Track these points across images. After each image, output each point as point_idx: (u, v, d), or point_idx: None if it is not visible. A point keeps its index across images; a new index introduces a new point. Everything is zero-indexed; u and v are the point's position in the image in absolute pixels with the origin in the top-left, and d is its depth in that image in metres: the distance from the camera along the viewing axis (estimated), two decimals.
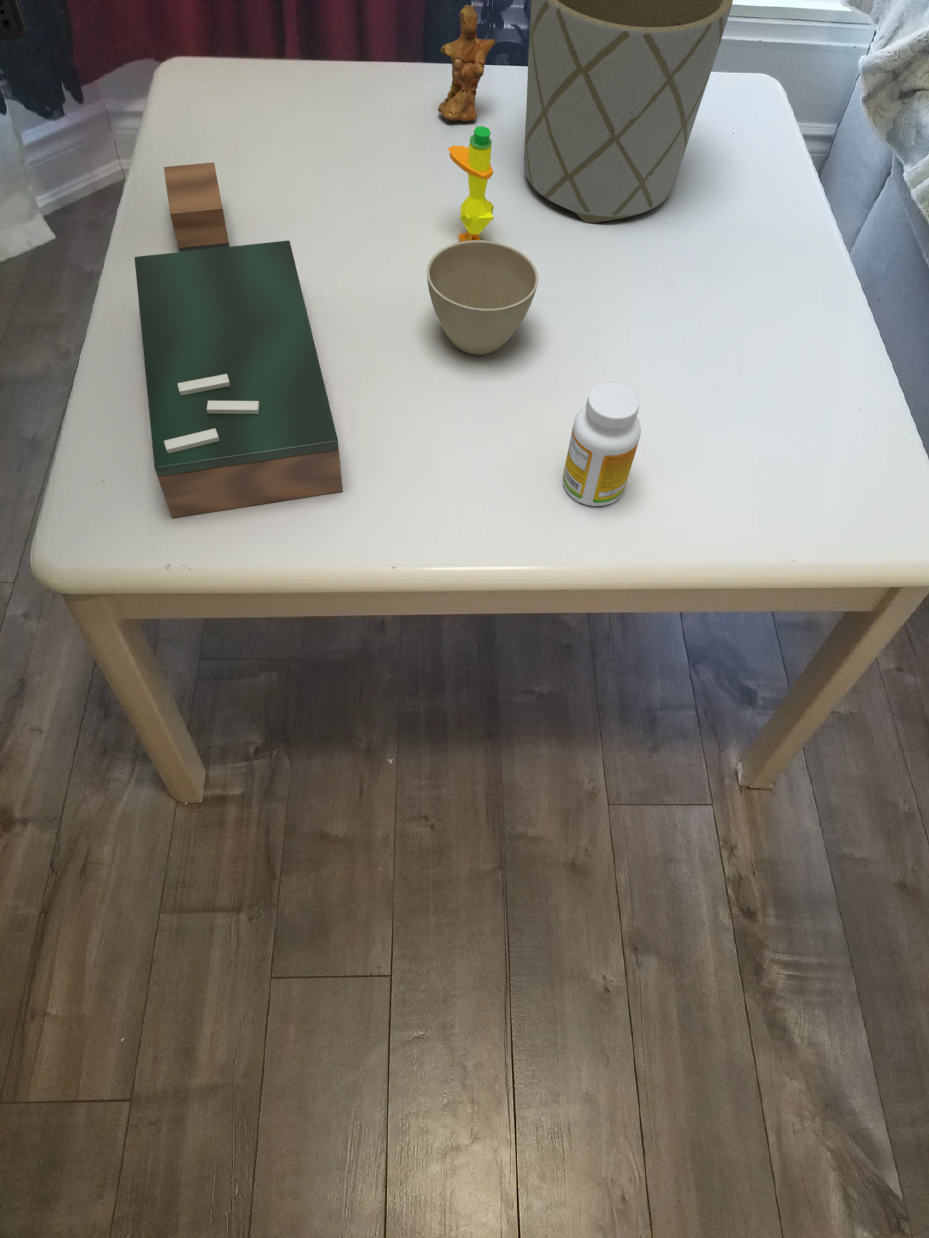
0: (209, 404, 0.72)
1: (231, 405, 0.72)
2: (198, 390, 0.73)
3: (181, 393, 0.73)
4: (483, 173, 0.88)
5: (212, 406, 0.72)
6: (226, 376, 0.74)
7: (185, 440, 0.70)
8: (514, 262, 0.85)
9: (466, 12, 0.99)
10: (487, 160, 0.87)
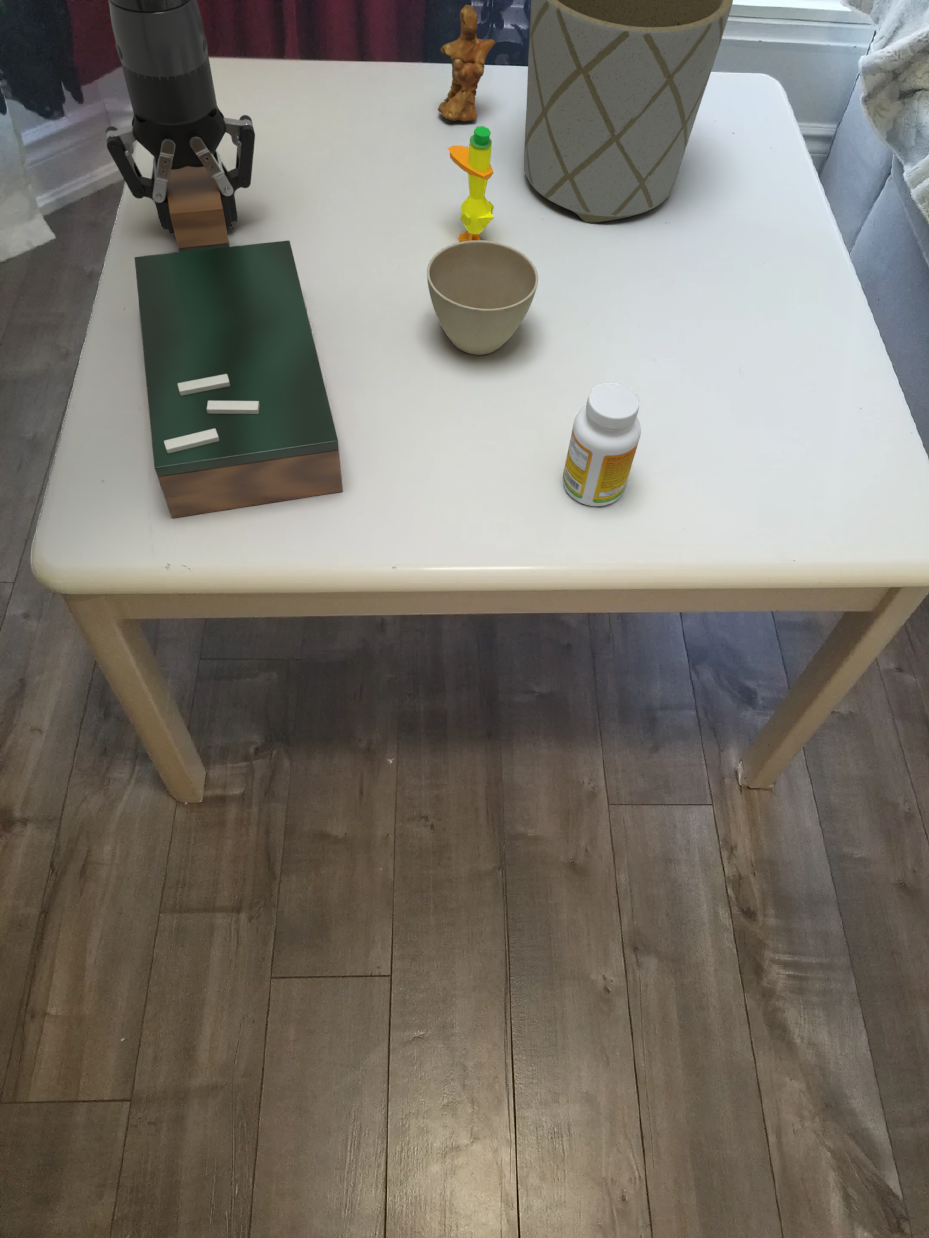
0: (209, 404, 0.72)
1: (231, 405, 0.72)
2: (198, 390, 0.73)
3: (181, 393, 0.73)
4: (483, 173, 0.88)
5: (212, 406, 0.72)
6: (226, 376, 0.74)
7: (185, 440, 0.70)
8: (514, 262, 0.85)
9: (466, 12, 0.99)
10: (487, 160, 0.87)
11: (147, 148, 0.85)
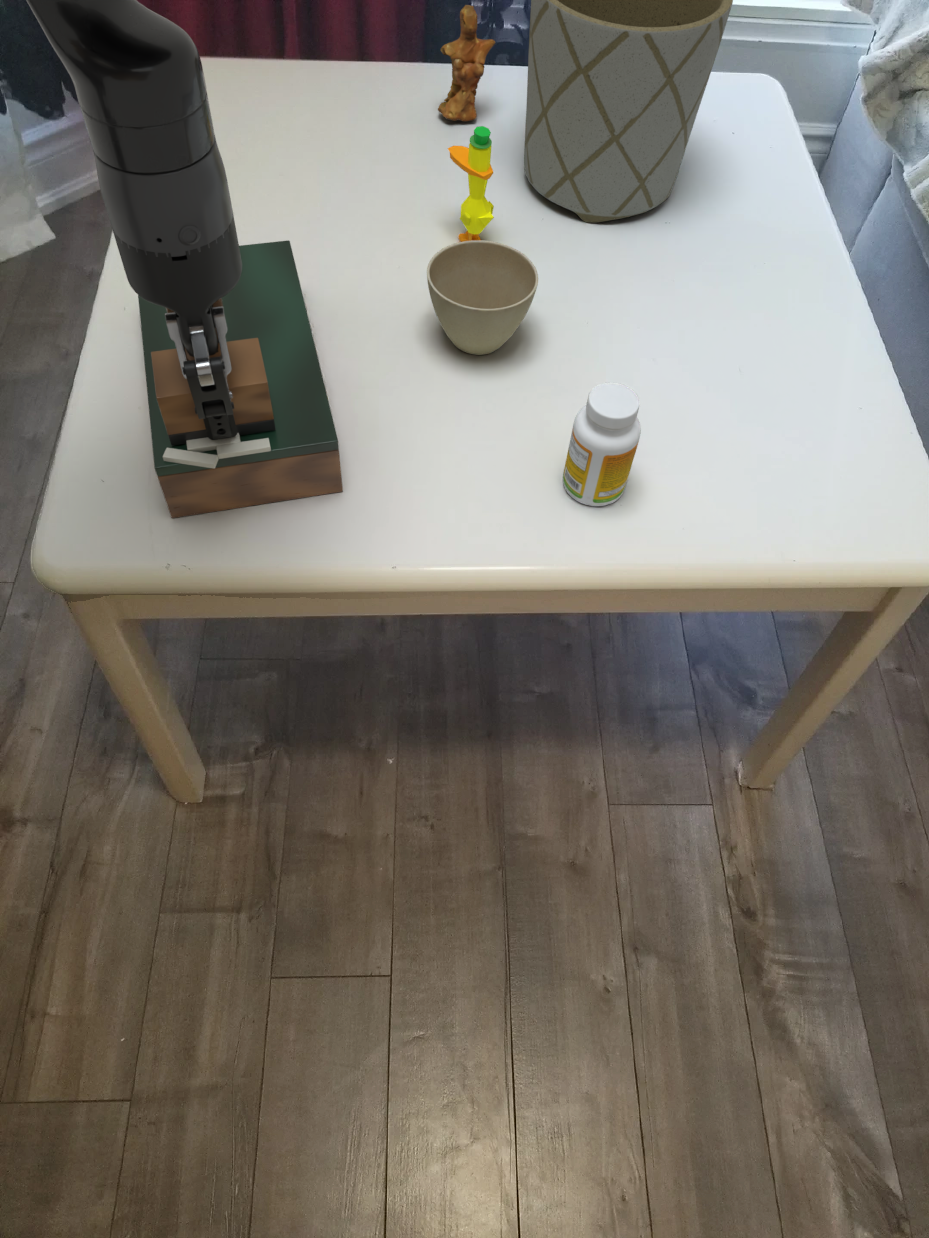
0: (219, 449, 0.70)
1: (242, 446, 0.70)
2: (207, 449, 0.70)
3: None
4: (483, 173, 0.88)
5: (222, 451, 0.70)
6: (238, 435, 0.70)
7: (183, 455, 0.69)
8: (514, 262, 0.85)
9: (466, 12, 0.99)
10: (487, 160, 0.87)
11: (215, 343, 0.62)
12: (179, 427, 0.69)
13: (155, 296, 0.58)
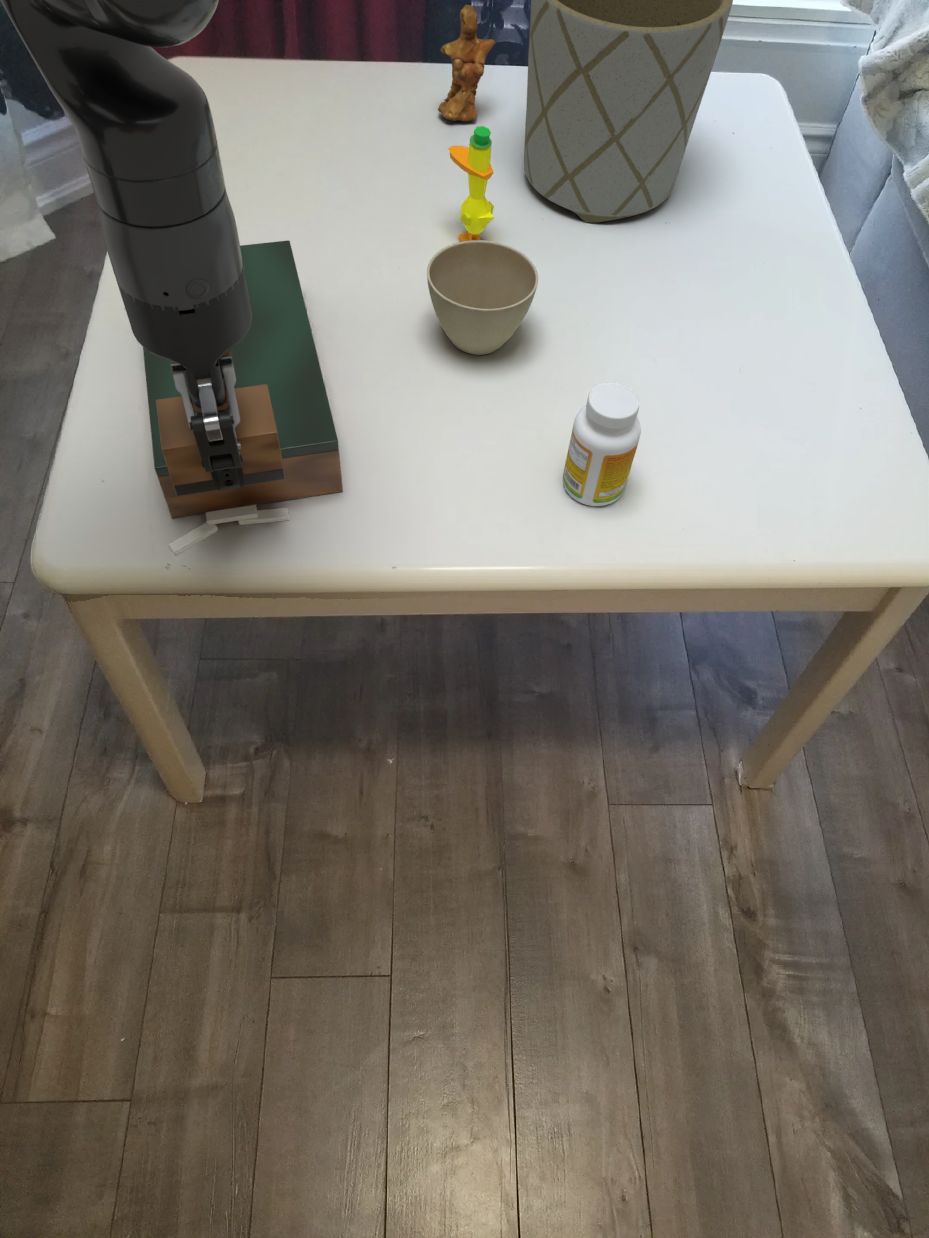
0: None
1: None
2: None
3: None
4: (483, 173, 0.88)
5: None
6: None
7: None
8: (514, 262, 0.85)
9: (466, 12, 0.99)
10: (487, 160, 0.87)
11: (223, 395, 0.60)
12: (185, 478, 0.66)
13: (161, 350, 0.56)
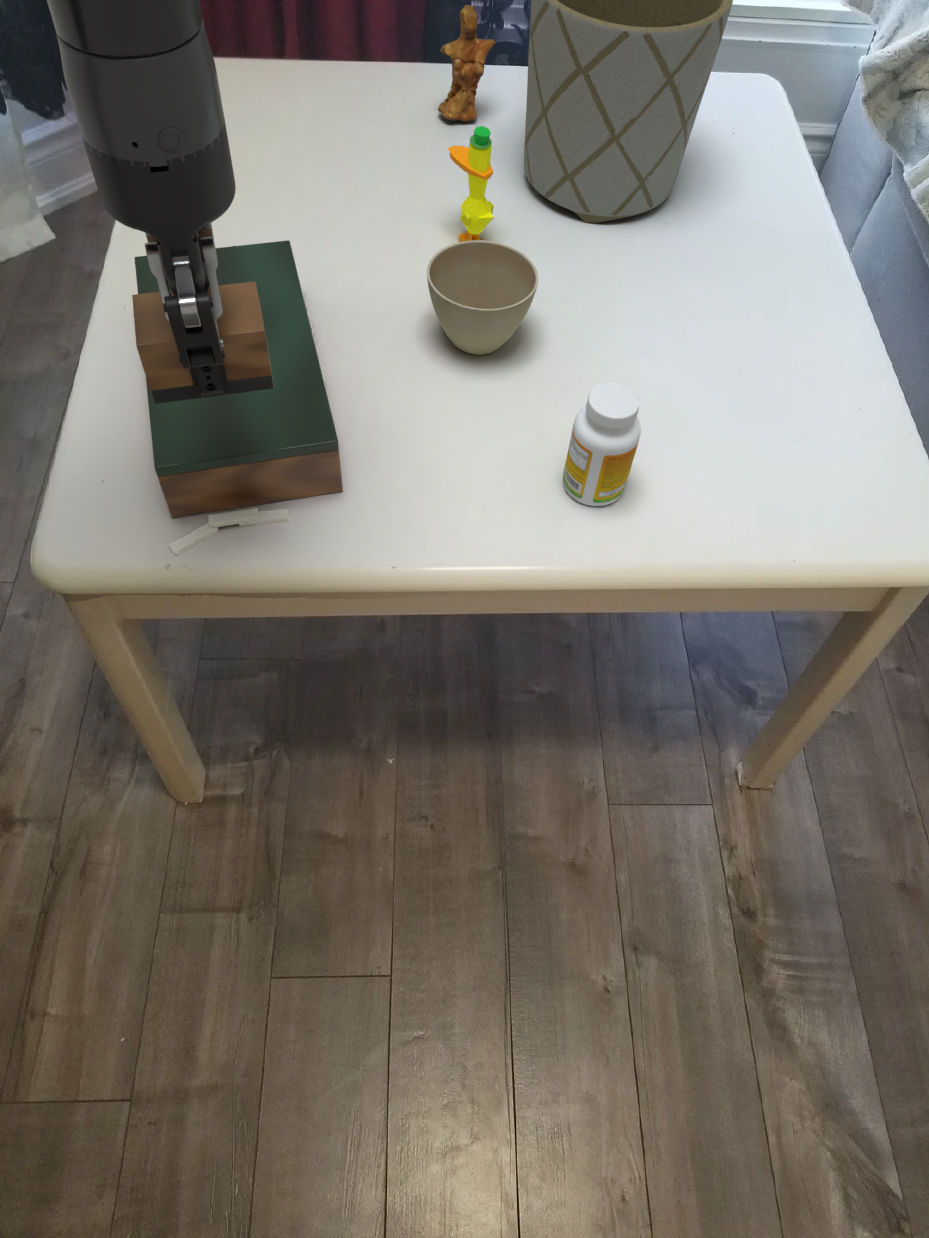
0: None
1: None
2: None
3: None
4: (483, 173, 0.88)
5: None
6: None
7: None
8: (514, 262, 0.85)
9: (466, 12, 0.99)
10: (487, 160, 0.87)
11: (202, 279, 0.54)
12: (163, 382, 0.60)
13: (132, 218, 0.50)
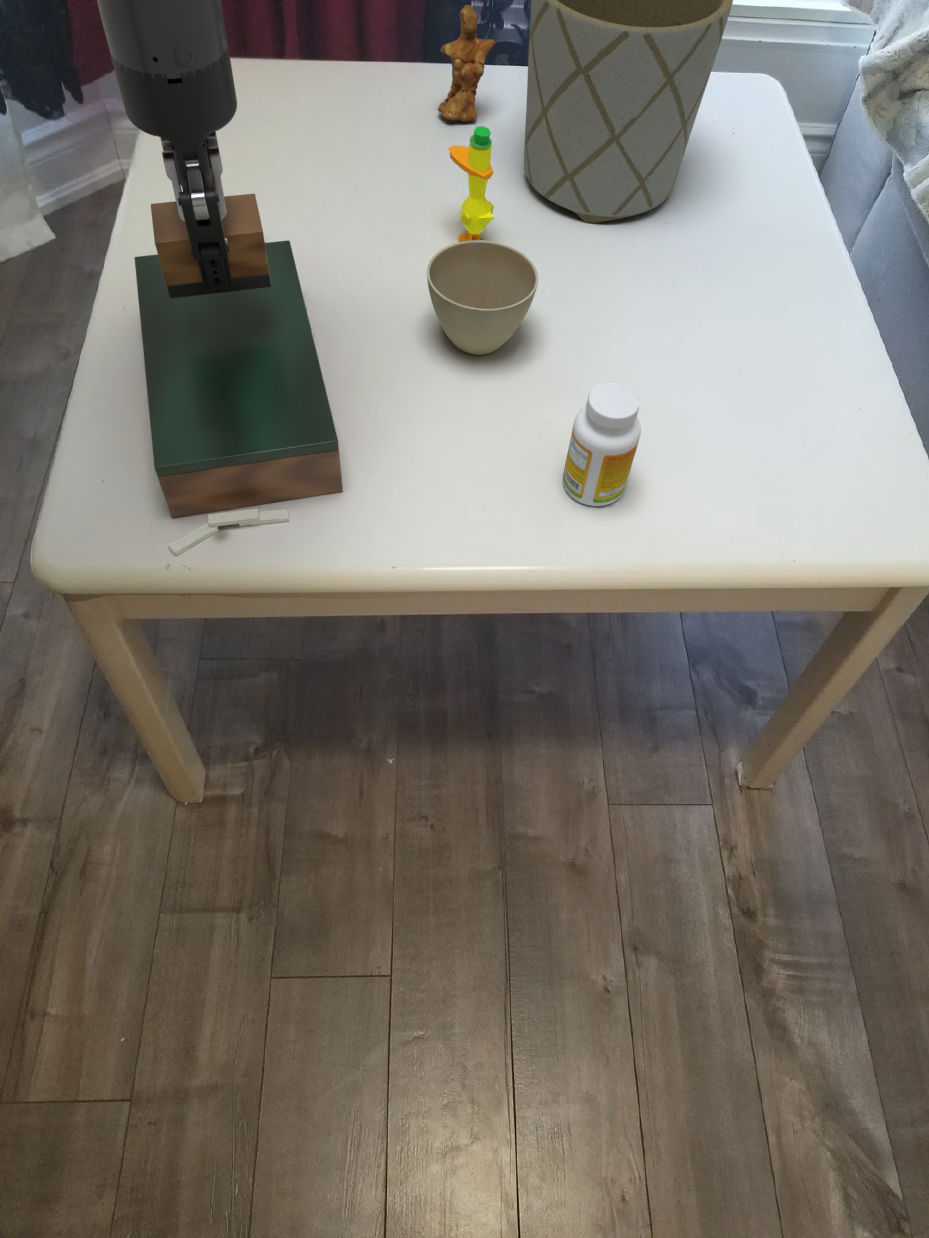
0: None
1: None
2: None
3: None
4: (483, 173, 0.88)
5: None
6: None
7: None
8: (514, 262, 0.85)
9: (466, 12, 0.99)
10: (487, 160, 0.87)
11: (210, 181, 0.64)
12: (177, 277, 0.71)
13: (152, 125, 0.60)
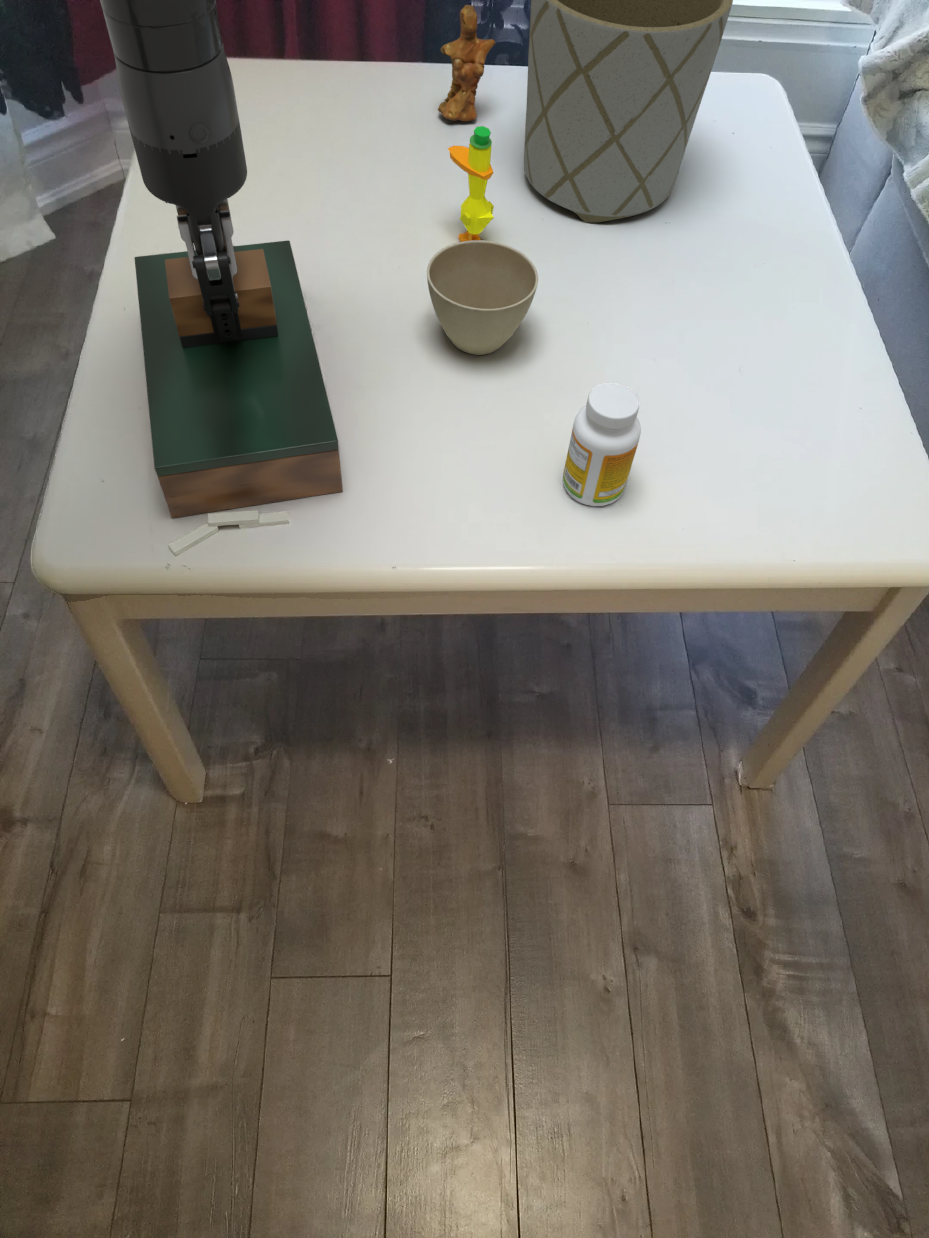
0: None
1: None
2: None
3: None
4: (483, 173, 0.88)
5: None
6: None
7: None
8: (514, 262, 0.85)
9: (466, 12, 0.99)
10: (487, 160, 0.87)
11: (222, 243, 0.68)
12: (189, 329, 0.75)
13: (168, 194, 0.64)
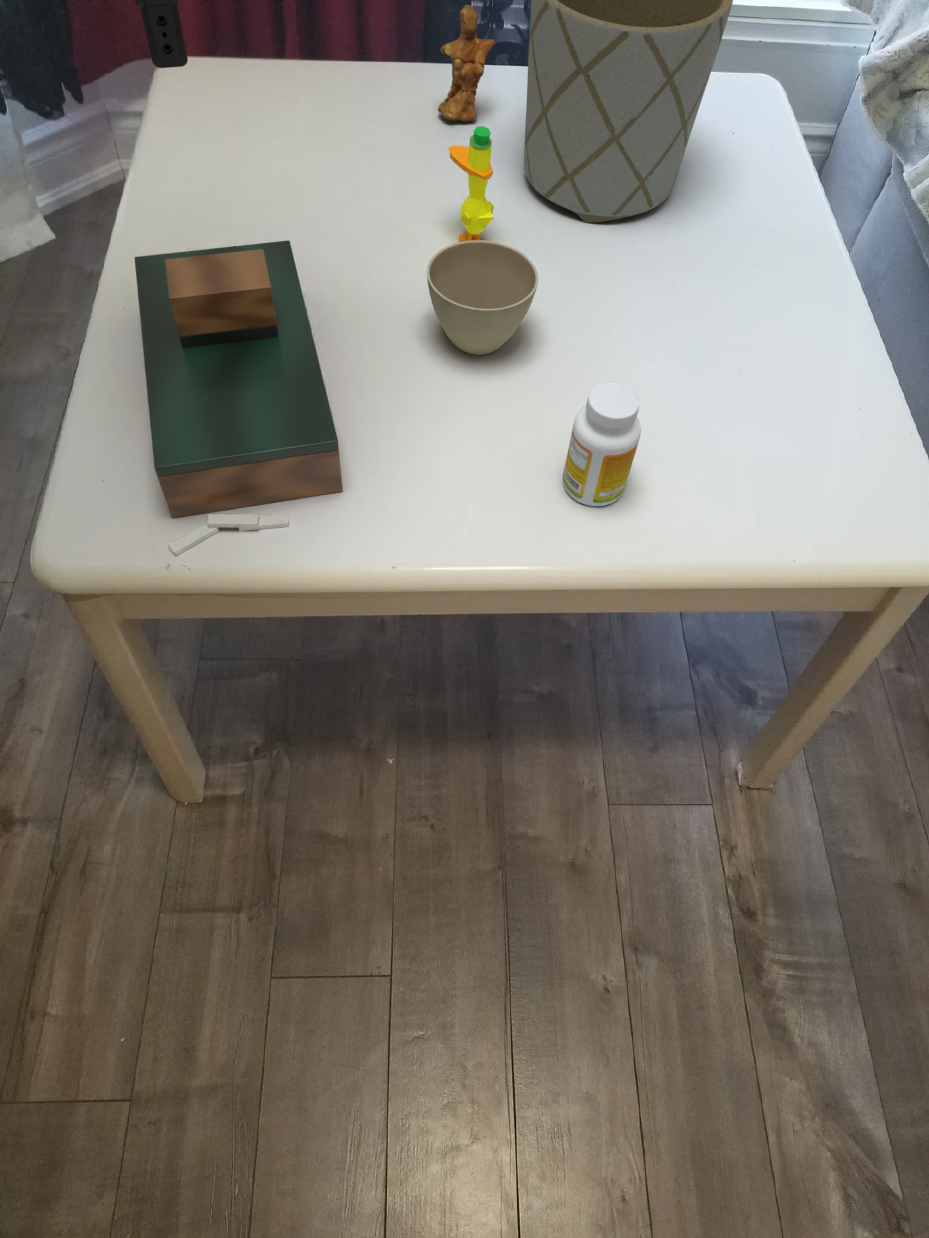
0: None
1: None
2: None
3: None
4: (483, 173, 0.88)
5: None
6: None
7: None
8: (514, 262, 0.85)
9: (466, 12, 0.99)
10: (487, 160, 0.87)
11: None
12: (190, 329, 0.75)
13: None
